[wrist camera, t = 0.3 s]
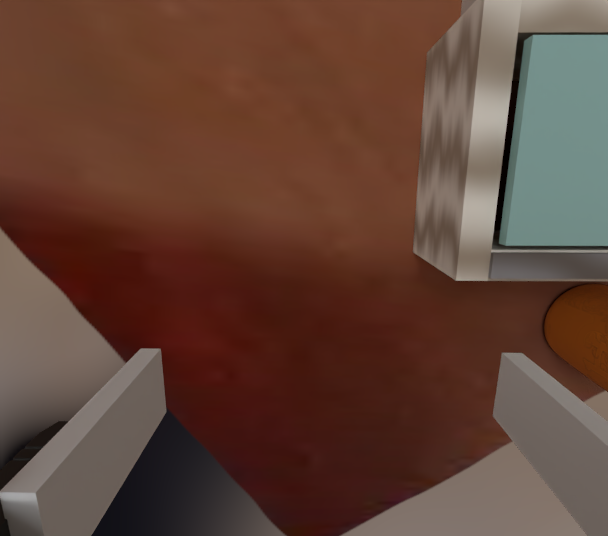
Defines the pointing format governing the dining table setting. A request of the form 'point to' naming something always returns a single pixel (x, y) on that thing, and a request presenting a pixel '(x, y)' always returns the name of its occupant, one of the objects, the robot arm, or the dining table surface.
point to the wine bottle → (581, 330)
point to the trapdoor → (559, 145)
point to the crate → (488, 143)
